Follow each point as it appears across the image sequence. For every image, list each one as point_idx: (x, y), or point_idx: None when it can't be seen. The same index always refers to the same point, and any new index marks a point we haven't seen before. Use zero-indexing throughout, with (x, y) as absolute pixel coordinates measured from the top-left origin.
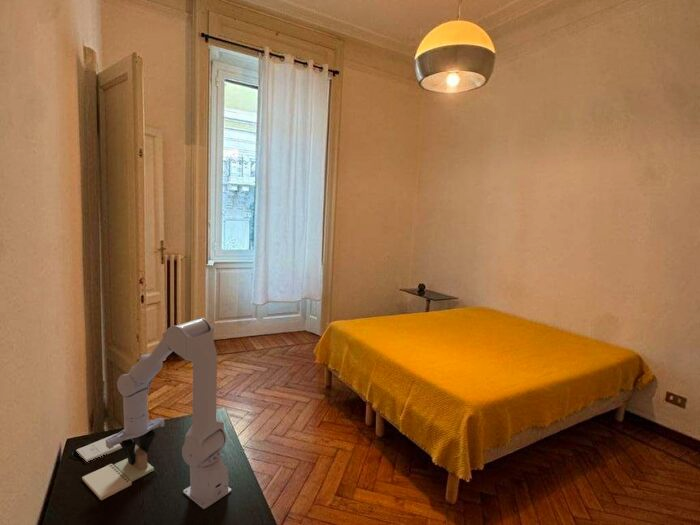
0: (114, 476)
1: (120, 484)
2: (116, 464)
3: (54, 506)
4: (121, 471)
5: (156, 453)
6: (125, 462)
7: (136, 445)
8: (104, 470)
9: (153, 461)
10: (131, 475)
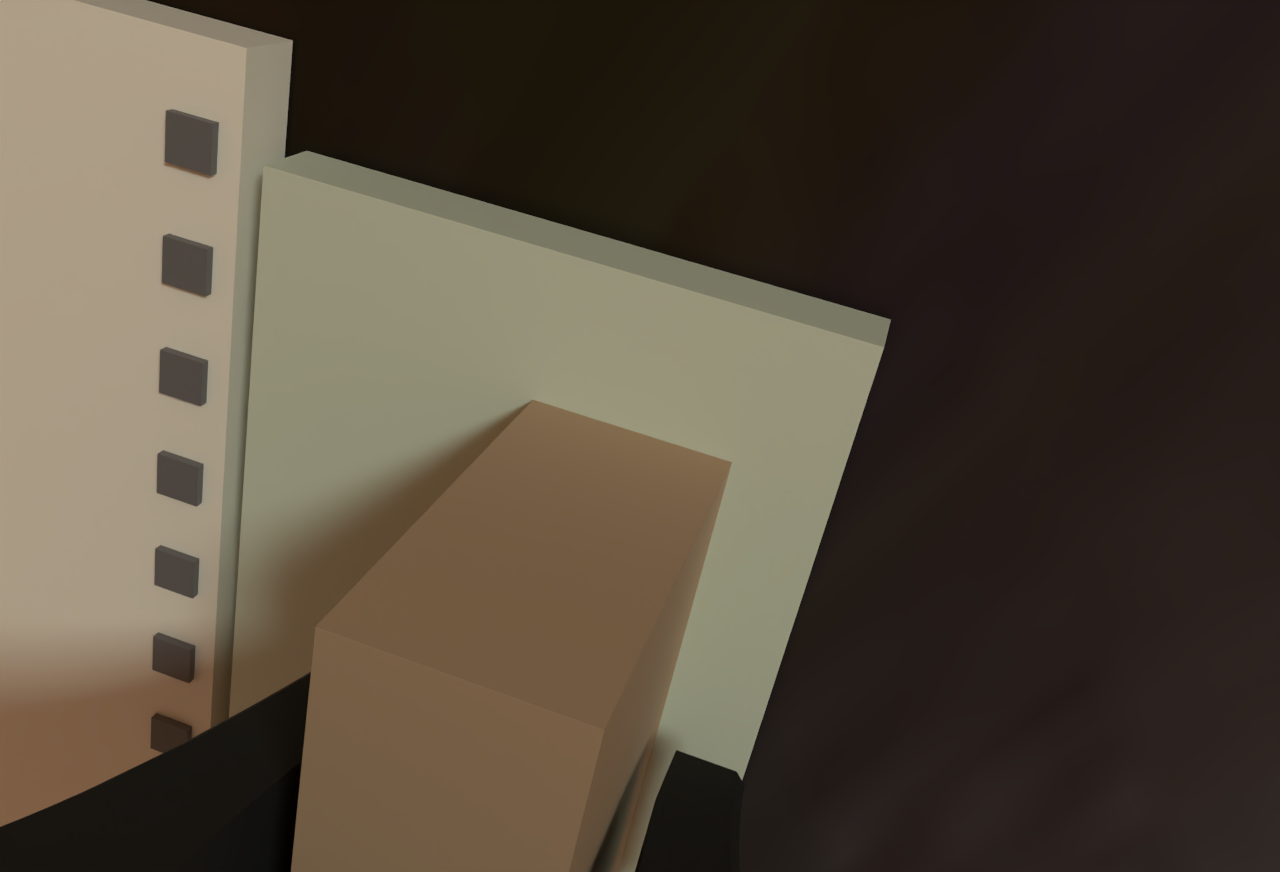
0: (85, 558)
1: None
2: (292, 232)
3: None
4: (245, 554)
5: (1227, 693)
6: (457, 387)
7: (561, 838)
8: (25, 161)
9: (900, 832)
10: None
